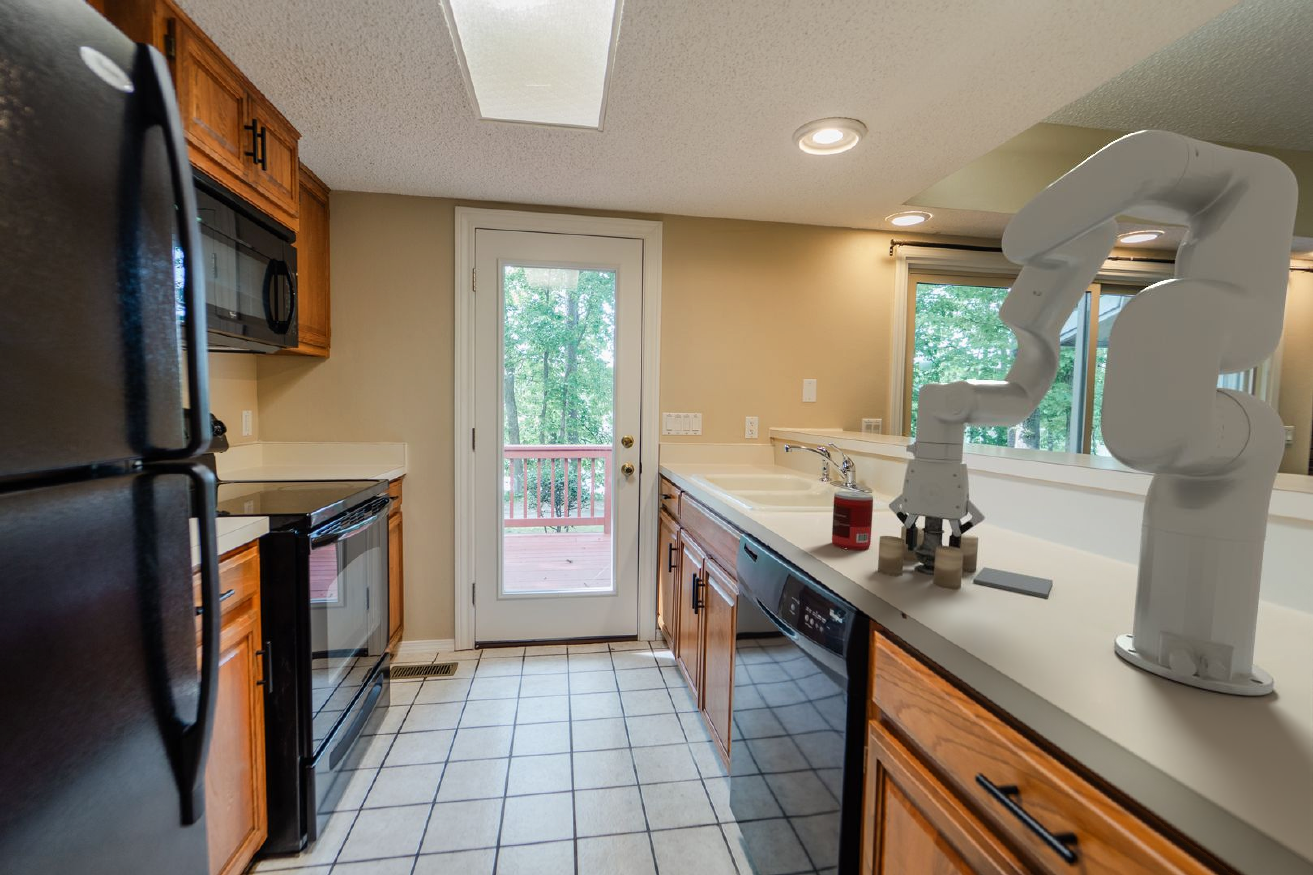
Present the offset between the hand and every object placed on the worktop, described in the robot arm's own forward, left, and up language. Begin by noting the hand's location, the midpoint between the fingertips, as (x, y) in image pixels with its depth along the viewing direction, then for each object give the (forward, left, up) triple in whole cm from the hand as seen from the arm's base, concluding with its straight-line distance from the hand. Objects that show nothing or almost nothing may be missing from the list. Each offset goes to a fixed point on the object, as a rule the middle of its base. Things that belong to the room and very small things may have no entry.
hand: (931, 552), depth 94 cm
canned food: (+7, +17, -4) cm, 19 cm away
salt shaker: (0, 0, -4) cm, 4 cm away
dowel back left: (+6, +5, -3) cm, 9 cm away
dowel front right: (-7, -4, -3) cm, 8 cm away
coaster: (+3, -12, -3) cm, 13 cm away
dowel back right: (+6, -4, -3) cm, 8 cm away
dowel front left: (-7, +5, -3) cm, 9 cm away
